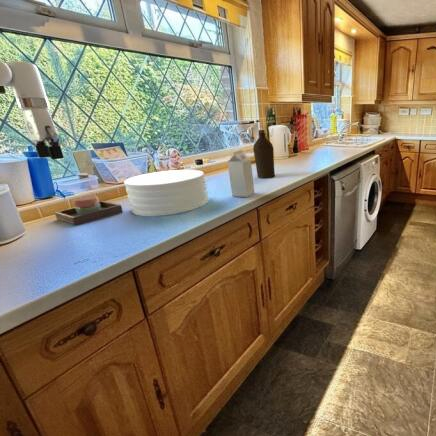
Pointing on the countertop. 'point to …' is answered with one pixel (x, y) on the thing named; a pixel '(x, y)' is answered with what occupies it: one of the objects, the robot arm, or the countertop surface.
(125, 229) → the countertop surface
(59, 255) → the countertop surface
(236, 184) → the milk carton
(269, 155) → the olive oil
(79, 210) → the green disc
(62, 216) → the tray
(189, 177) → the plate stack
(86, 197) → the terracotta round puck
